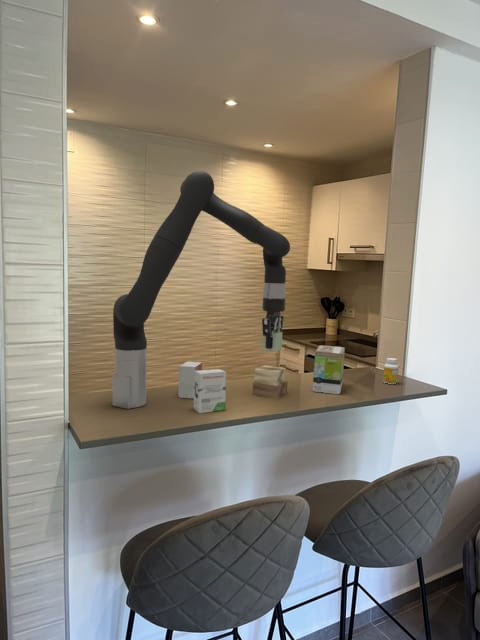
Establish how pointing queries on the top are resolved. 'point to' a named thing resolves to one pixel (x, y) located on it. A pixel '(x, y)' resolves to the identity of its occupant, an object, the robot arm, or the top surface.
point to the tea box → (328, 369)
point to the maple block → (270, 375)
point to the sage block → (274, 342)
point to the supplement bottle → (391, 371)
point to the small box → (187, 378)
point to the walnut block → (270, 390)
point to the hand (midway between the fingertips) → (272, 346)
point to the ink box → (209, 390)
